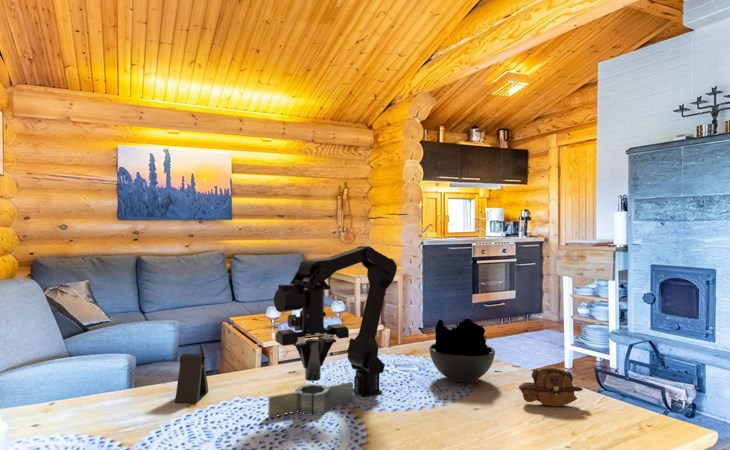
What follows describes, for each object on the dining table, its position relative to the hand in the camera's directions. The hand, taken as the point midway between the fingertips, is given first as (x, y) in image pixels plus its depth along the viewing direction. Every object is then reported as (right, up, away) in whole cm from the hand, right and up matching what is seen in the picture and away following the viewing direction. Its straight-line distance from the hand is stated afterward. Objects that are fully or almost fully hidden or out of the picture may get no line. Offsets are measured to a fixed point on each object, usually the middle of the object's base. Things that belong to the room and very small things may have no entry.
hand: (312, 366), depth 128 cm
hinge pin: (0, -3, 0) cm, 3 cm away
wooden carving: (+64, -11, +3) cm, 65 cm away
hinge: (0, -11, 0) cm, 11 cm away
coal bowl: (+44, -11, +24) cm, 51 cm away
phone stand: (-35, -11, +8) cm, 37 cm away
